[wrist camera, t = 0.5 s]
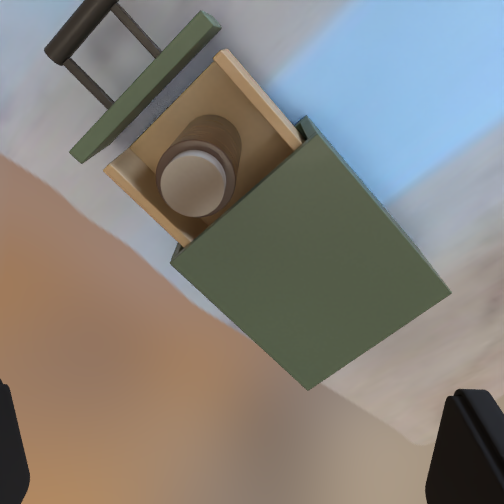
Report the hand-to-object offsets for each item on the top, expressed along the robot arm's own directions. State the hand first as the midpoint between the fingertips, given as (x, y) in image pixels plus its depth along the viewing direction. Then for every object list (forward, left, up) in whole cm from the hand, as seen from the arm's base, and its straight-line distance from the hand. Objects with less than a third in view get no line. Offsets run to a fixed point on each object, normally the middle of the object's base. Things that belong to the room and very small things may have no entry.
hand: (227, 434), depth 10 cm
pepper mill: (-1, -3, -31) cm, 31 cm away
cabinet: (+10, 0, -33) cm, 35 cm away
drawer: (-3, -4, -32) cm, 33 cm away
